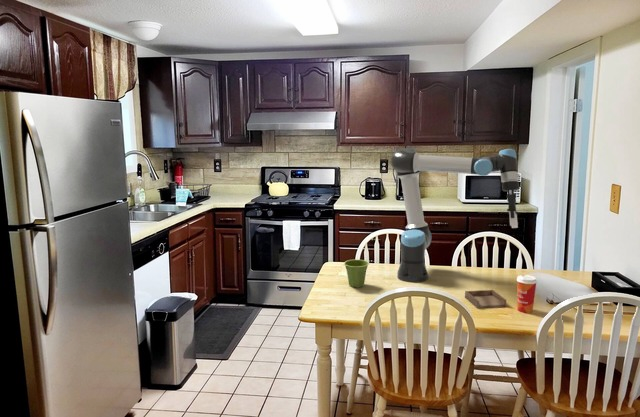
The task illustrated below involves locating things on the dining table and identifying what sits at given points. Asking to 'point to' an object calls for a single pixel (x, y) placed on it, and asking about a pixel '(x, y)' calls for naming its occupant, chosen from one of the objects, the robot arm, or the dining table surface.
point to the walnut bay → (485, 299)
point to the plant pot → (356, 272)
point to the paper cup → (525, 293)
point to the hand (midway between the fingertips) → (514, 226)
